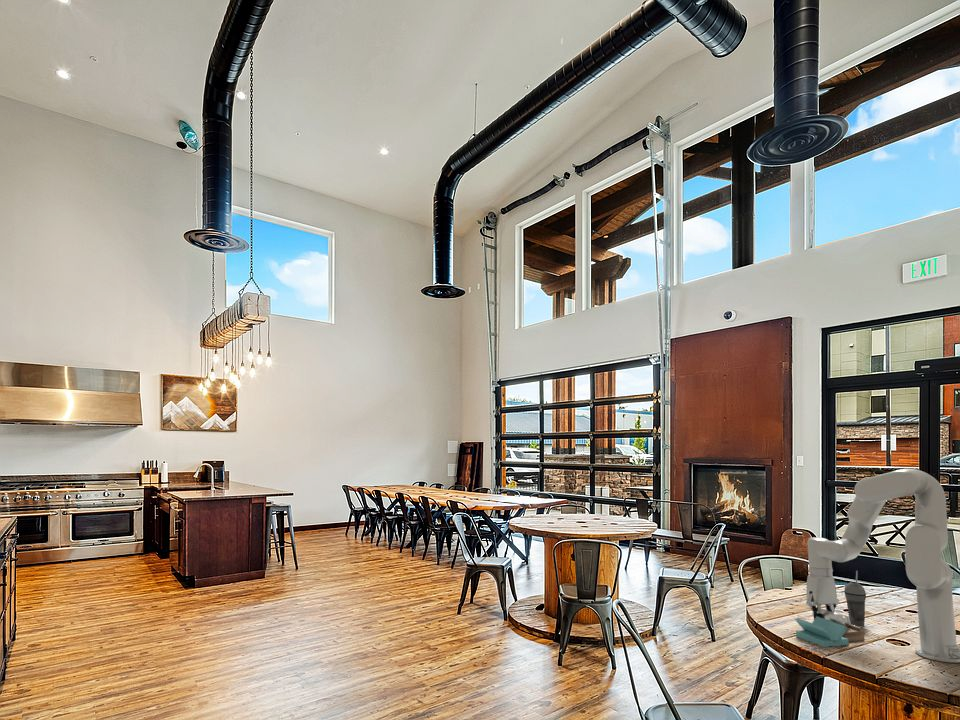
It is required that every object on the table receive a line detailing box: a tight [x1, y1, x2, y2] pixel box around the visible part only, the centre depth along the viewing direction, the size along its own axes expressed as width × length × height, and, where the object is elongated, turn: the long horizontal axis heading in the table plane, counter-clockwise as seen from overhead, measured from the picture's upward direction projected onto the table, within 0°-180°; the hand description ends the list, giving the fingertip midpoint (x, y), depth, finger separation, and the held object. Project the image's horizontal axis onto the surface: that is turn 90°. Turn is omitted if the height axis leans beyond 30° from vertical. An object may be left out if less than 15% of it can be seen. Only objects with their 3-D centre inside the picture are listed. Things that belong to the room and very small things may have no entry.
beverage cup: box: [843, 570, 867, 627], centre depth 228 cm, size 7×7×20 cm
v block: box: [795, 617, 850, 648], centre depth 208 cm, size 12×10×6 cm
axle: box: [812, 606, 850, 628], centre depth 218 cm, size 12×4×4 cm, turn 18°
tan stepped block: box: [842, 624, 865, 643], centre depth 213 cm, size 10×9×4 cm
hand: (823, 622), depth 220 cm, fingers closed on axle, 4 cm apart
